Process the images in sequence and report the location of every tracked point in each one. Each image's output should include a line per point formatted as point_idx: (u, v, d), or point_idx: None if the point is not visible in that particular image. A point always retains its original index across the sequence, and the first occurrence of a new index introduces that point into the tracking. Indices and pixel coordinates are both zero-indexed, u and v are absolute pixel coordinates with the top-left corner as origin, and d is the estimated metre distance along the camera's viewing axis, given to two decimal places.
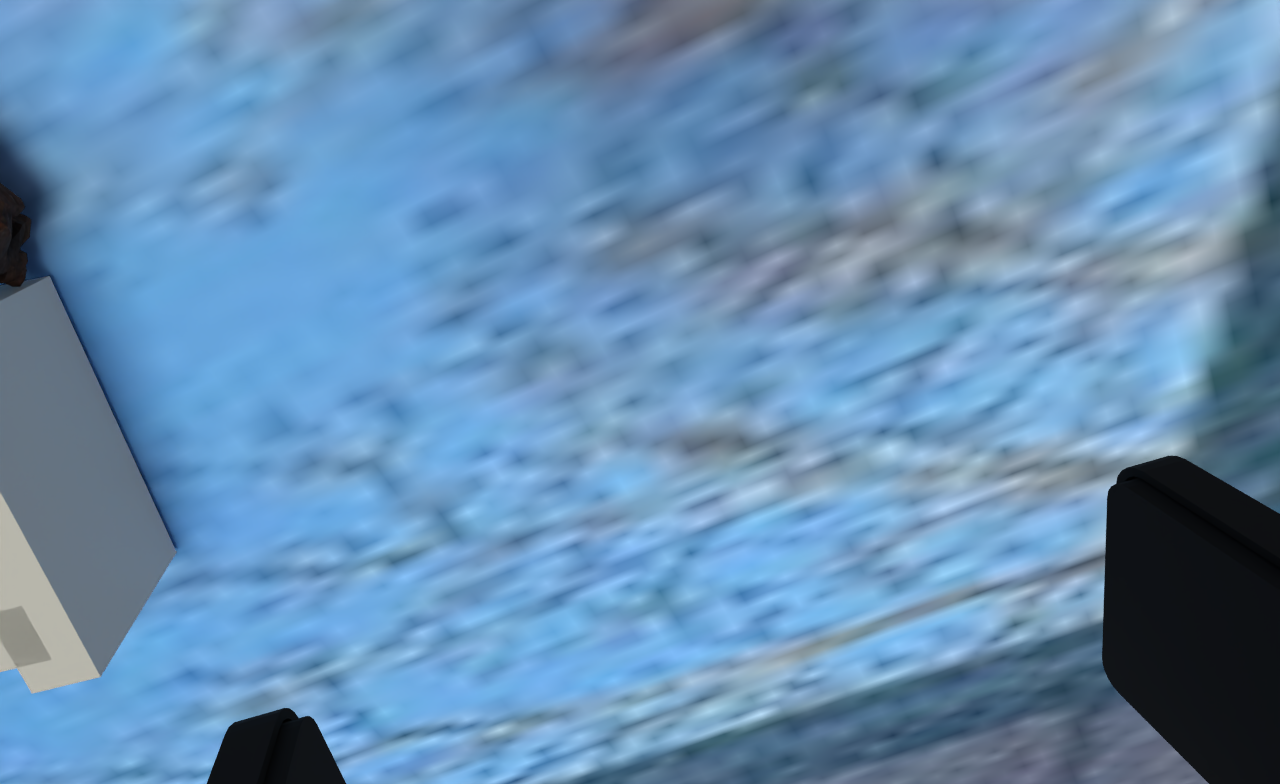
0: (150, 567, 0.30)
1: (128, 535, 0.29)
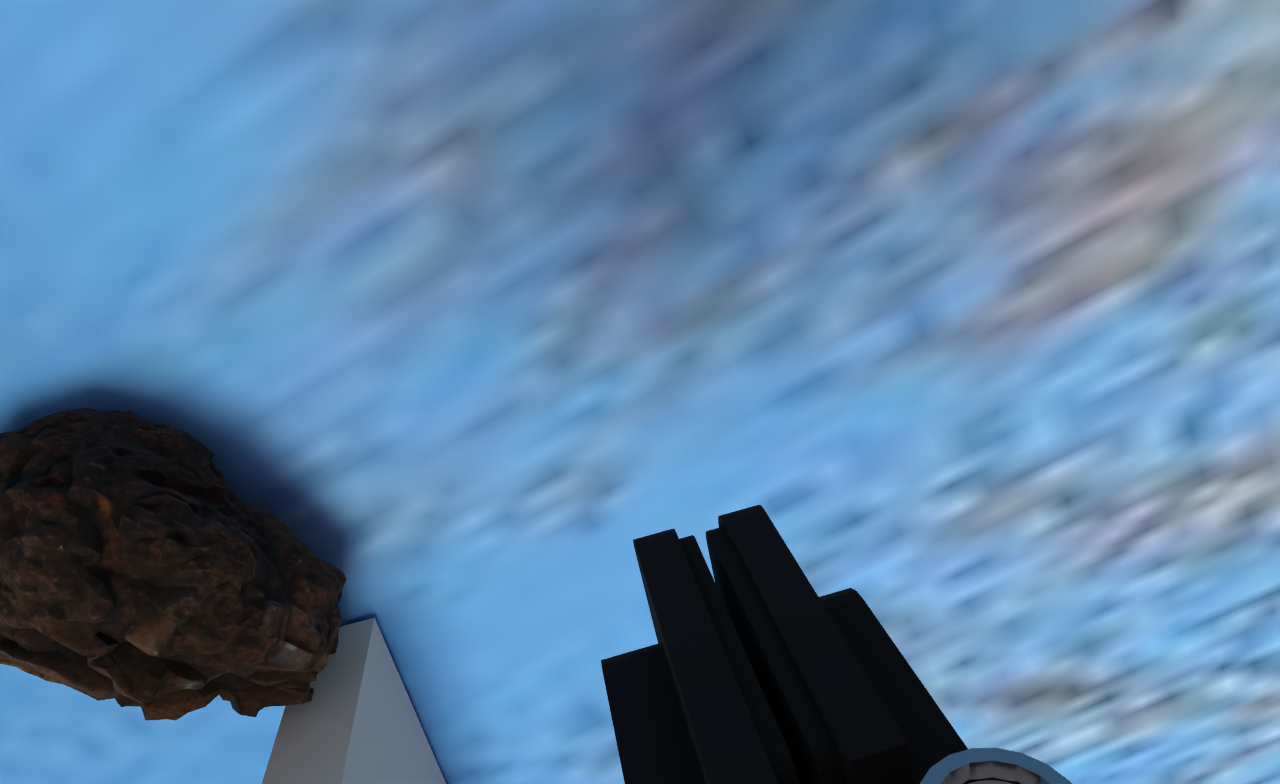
0: None
1: None
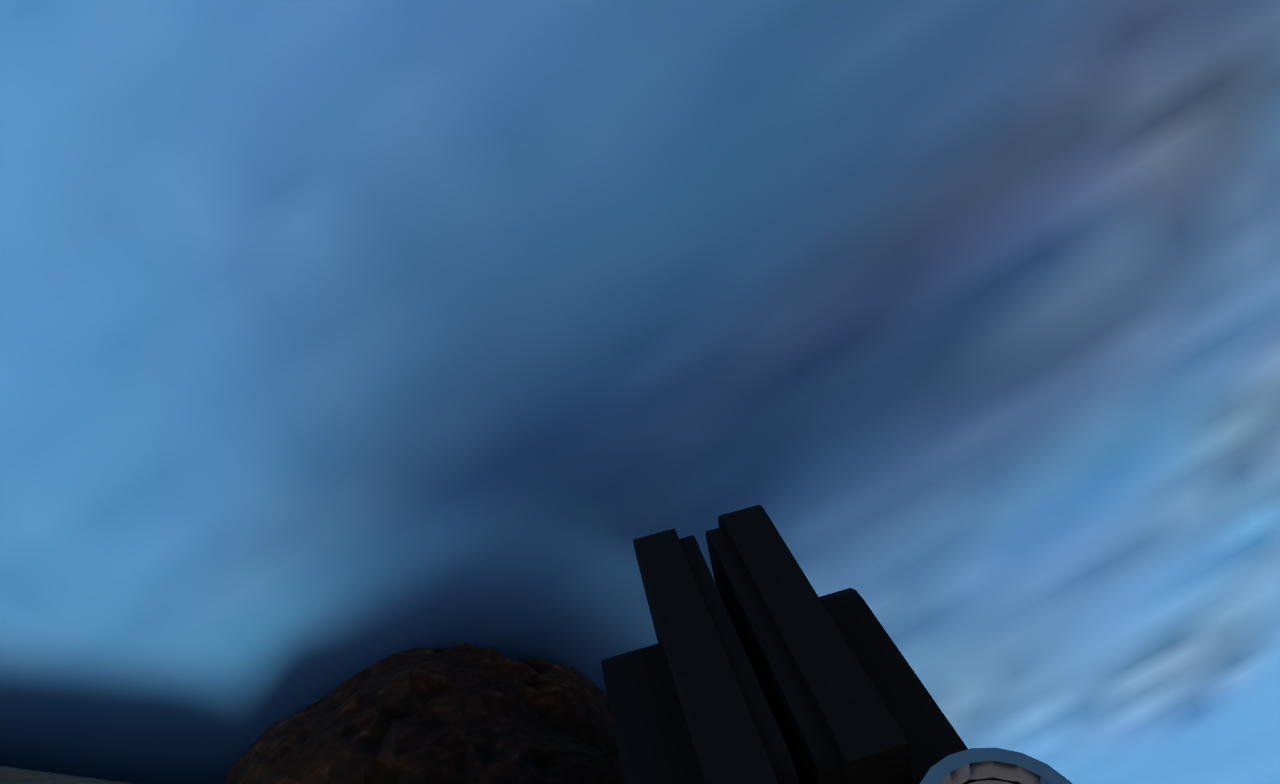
0: None
1: None
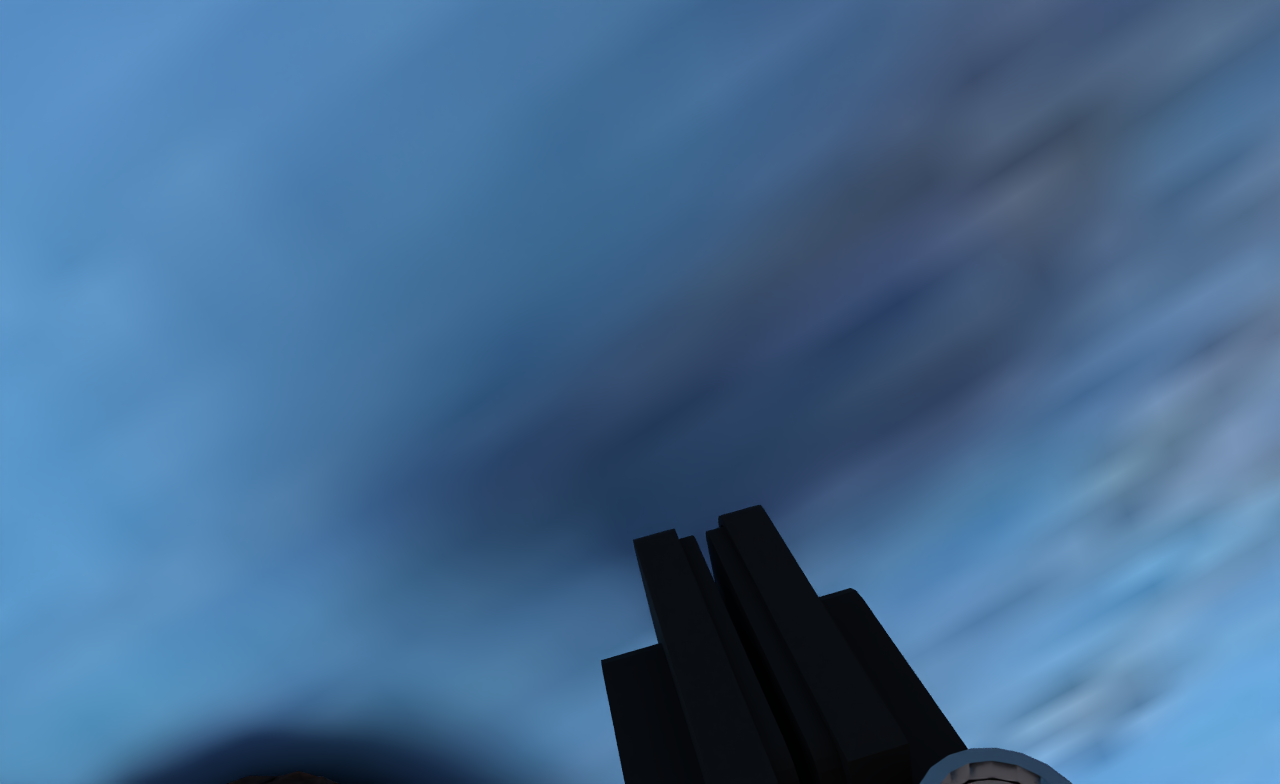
0: None
1: None
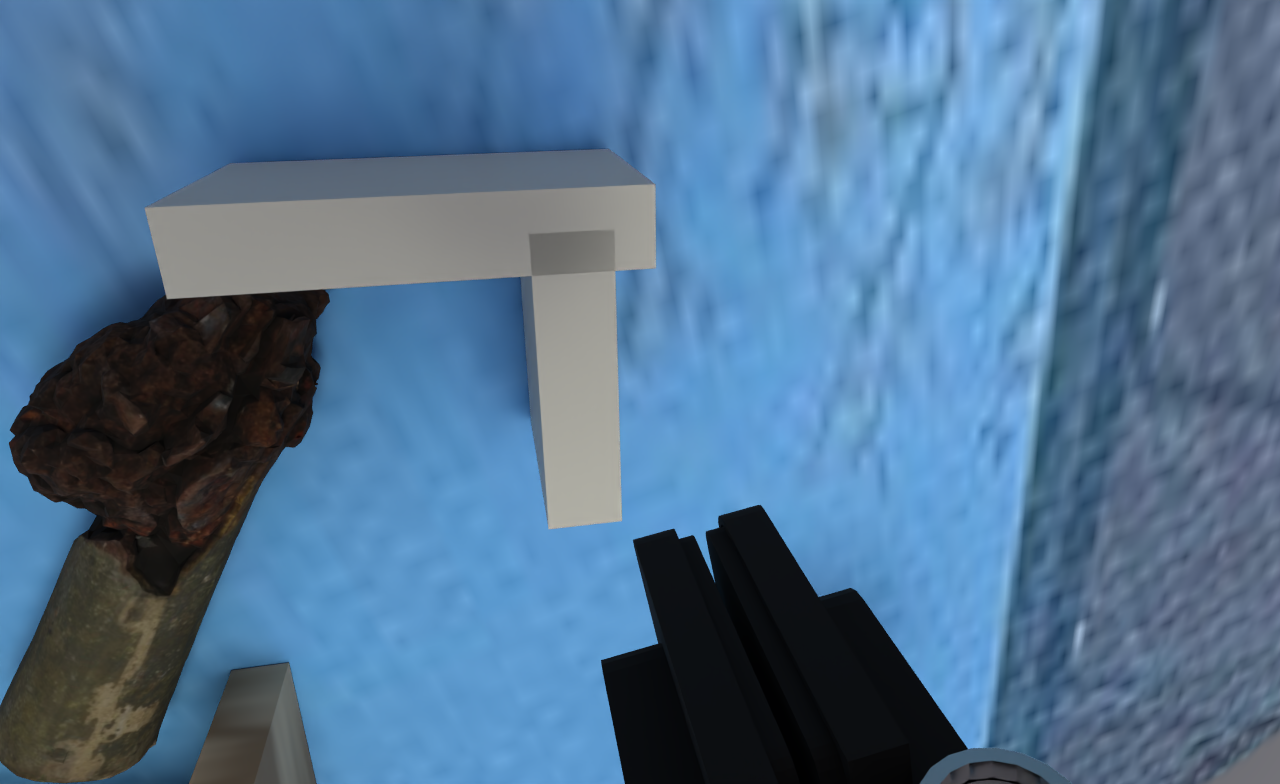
0: (596, 158, 0.24)
1: (541, 161, 0.23)
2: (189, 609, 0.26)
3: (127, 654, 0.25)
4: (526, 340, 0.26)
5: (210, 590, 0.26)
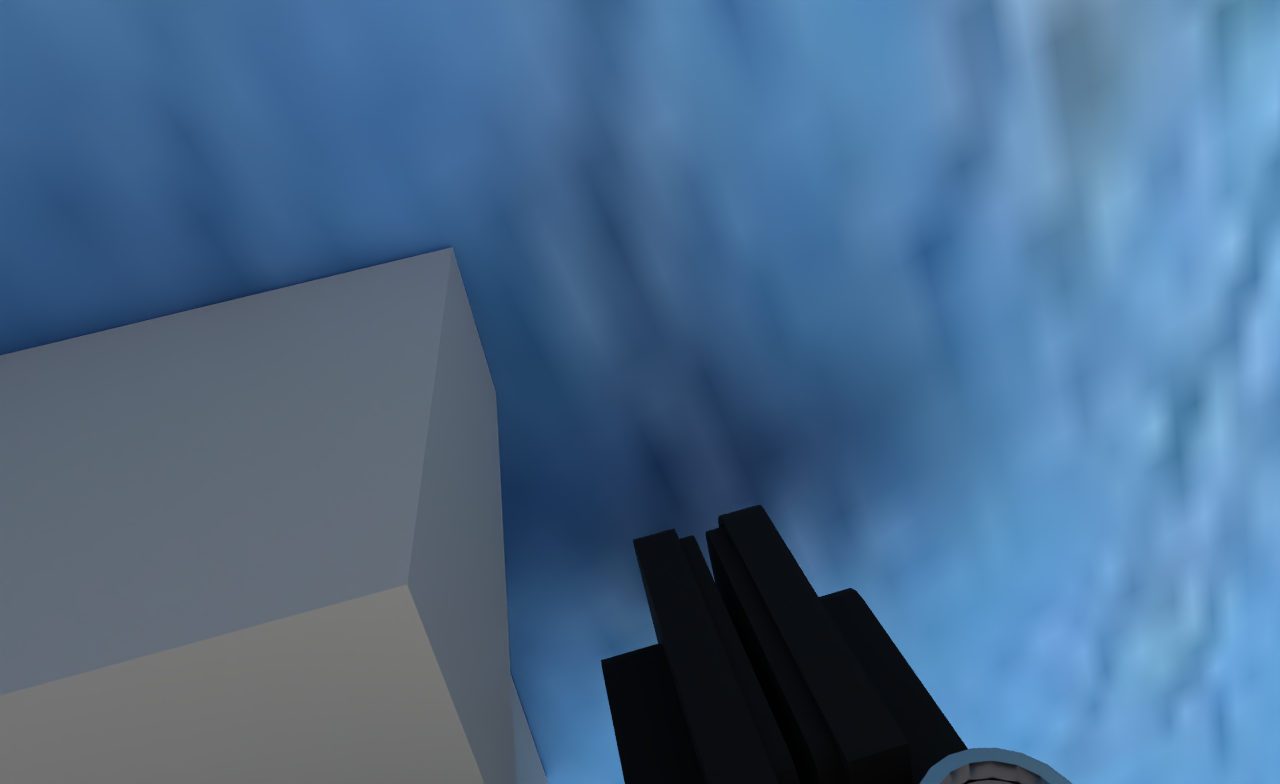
0: (378, 307, 0.08)
1: (203, 360, 0.08)
2: None
3: None
4: None
5: None
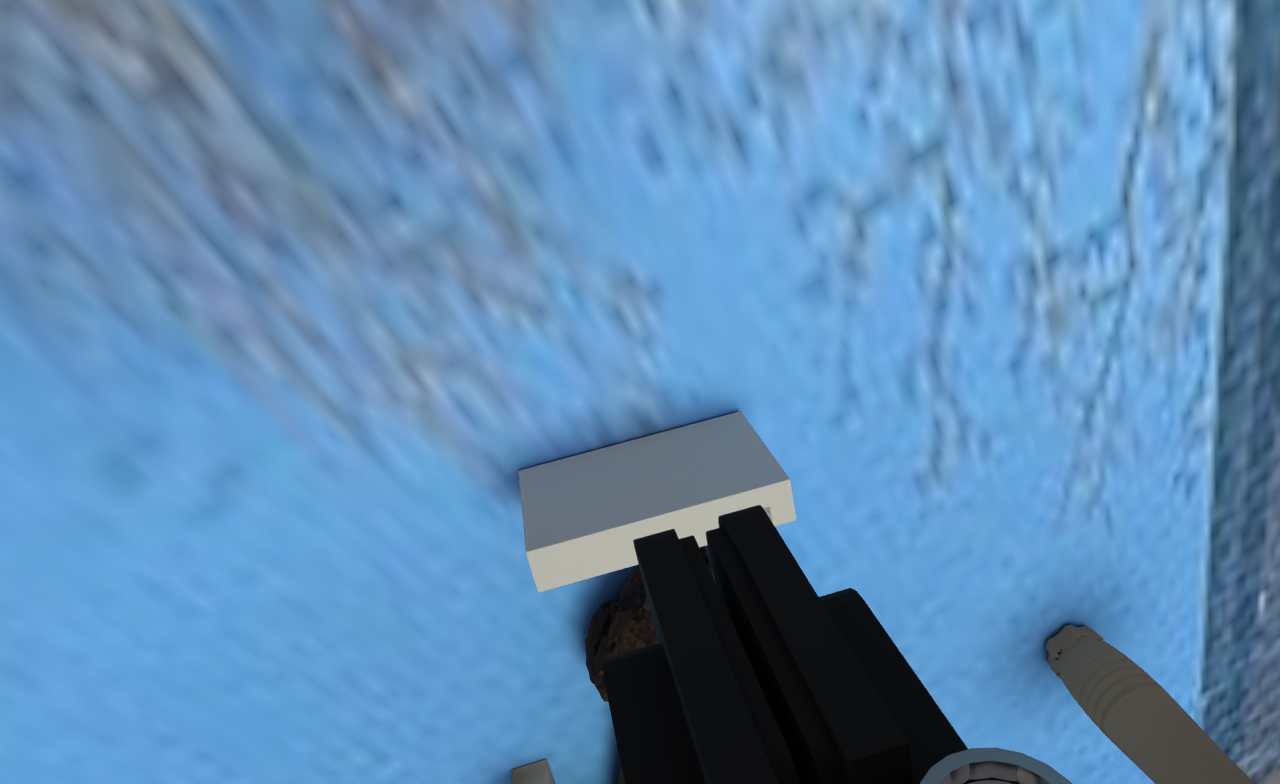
0: (739, 432, 0.38)
1: (708, 445, 0.38)
2: None
3: None
4: None
5: None
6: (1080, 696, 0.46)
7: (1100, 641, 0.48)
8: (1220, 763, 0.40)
